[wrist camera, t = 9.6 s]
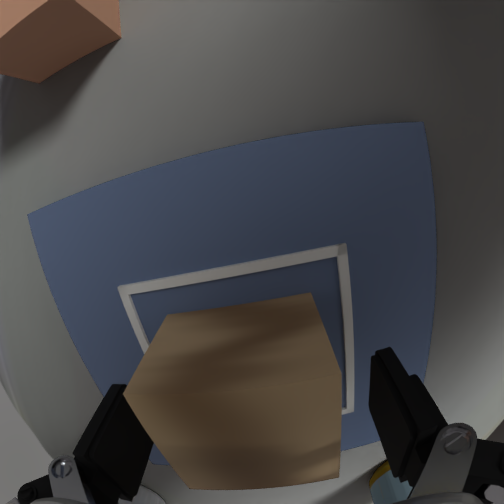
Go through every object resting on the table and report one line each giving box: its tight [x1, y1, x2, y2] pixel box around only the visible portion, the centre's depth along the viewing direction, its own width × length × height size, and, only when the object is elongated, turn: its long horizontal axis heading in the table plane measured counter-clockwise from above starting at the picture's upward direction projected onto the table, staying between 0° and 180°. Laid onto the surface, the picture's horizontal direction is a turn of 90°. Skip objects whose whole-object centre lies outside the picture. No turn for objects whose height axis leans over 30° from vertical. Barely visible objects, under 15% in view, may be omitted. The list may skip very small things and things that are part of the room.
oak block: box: [123, 292, 342, 490], centre depth 10 cm, size 6×6×5 cm
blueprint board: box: [27, 122, 437, 465], centre depth 13 cm, size 18×18×1 cm
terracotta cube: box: [0, 0, 121, 84], centre depth 6 cm, size 5×5×5 cm
